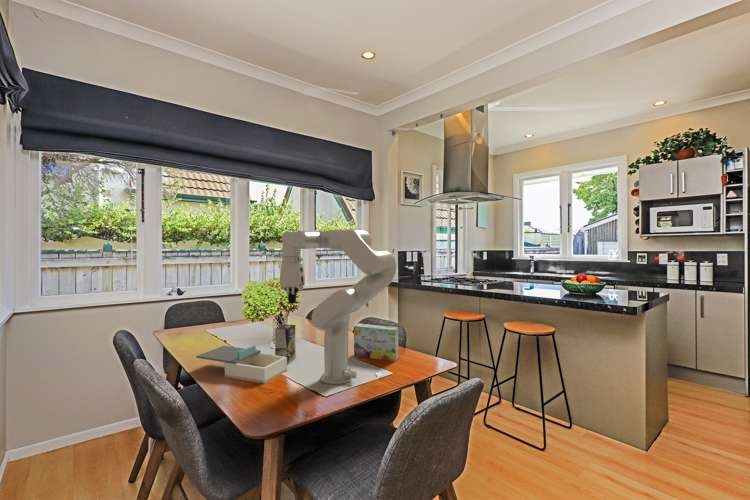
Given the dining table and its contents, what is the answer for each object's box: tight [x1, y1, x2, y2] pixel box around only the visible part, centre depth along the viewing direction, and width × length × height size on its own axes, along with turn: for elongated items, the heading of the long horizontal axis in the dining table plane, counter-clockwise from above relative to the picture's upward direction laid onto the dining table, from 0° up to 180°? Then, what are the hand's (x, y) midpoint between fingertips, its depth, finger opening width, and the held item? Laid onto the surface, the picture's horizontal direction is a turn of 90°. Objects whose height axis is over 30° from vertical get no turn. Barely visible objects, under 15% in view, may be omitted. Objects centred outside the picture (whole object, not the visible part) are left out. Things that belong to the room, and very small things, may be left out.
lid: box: [195, 345, 261, 364], centre depth 164 cm, size 21×16×4 cm
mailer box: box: [224, 352, 288, 384], centre depth 159 cm, size 20×15×6 cm
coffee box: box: [274, 324, 297, 365], centre depth 174 cm, size 9×6×16 cm
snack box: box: [353, 323, 399, 362], centre depth 179 cm, size 21×6×15 cm, turn 68°
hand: (292, 303), depth 162 cm, fingers closed
